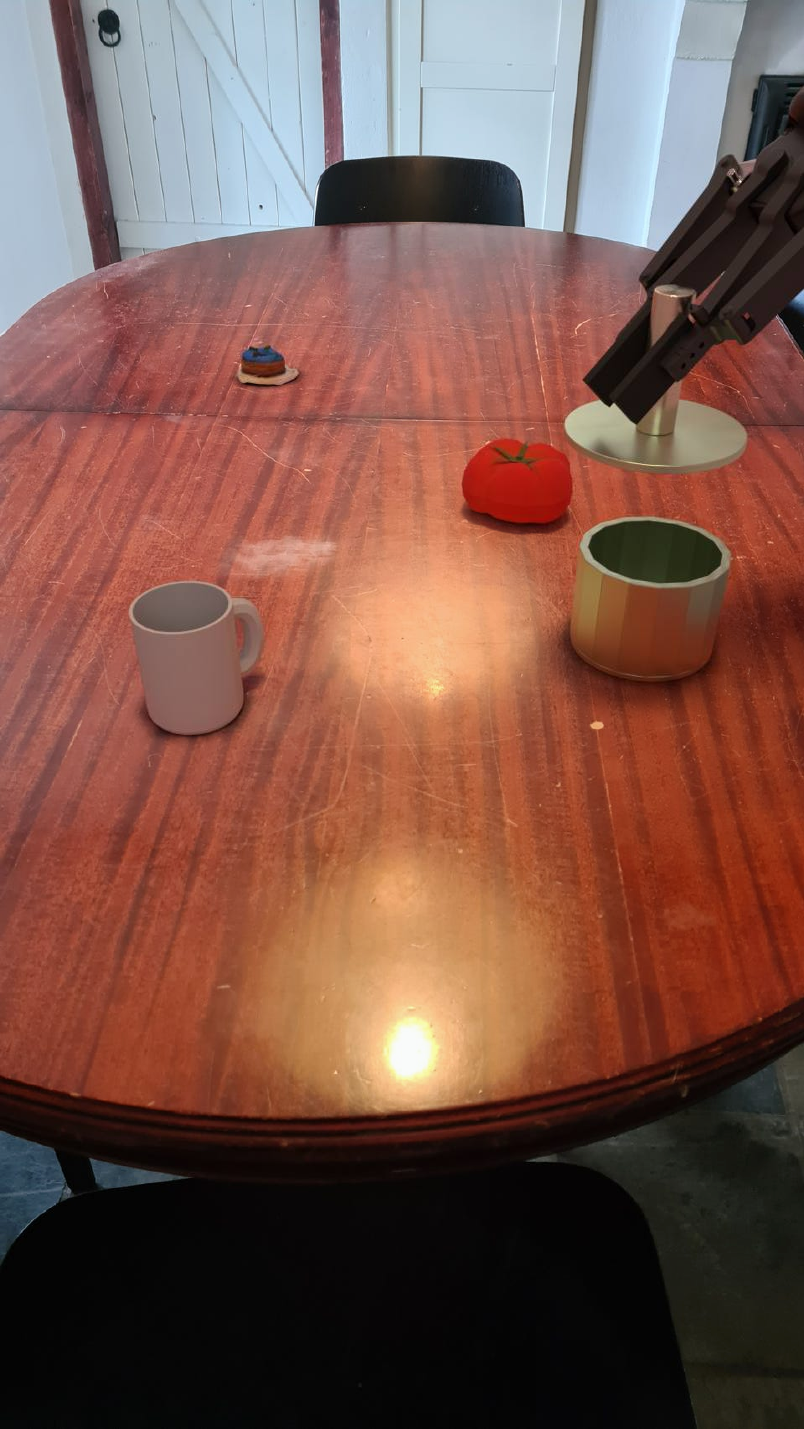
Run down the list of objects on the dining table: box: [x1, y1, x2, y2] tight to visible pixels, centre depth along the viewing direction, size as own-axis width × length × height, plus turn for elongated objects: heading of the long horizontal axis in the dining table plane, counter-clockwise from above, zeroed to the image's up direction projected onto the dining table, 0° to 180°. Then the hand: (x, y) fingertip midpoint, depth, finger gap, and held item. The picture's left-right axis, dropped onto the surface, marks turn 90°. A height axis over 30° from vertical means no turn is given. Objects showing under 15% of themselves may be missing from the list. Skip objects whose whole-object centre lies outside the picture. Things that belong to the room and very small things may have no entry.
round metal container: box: [569, 516, 733, 683], centre depth 82 cm, size 11×11×8 cm
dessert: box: [237, 344, 299, 386], centre depth 135 cm, size 8×7×6 cm
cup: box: [128, 580, 265, 736], centre depth 76 cm, size 7×10×9 cm
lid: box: [563, 285, 748, 475], centre depth 68 cm, size 12×12×10 cm
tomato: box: [461, 437, 574, 525], centre depth 102 cm, size 10×11×6 cm
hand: (609, 401), depth 67 cm, fingers closed on lid, 3 cm apart
